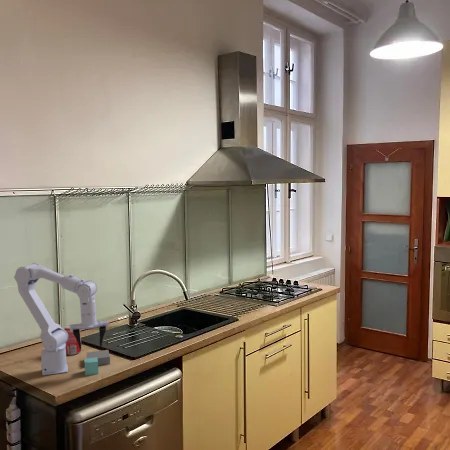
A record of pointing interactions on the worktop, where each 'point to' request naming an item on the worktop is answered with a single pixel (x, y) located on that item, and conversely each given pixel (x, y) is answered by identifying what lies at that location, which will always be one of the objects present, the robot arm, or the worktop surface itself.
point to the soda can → (71, 342)
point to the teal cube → (91, 366)
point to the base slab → (100, 356)
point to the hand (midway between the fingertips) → (90, 346)
